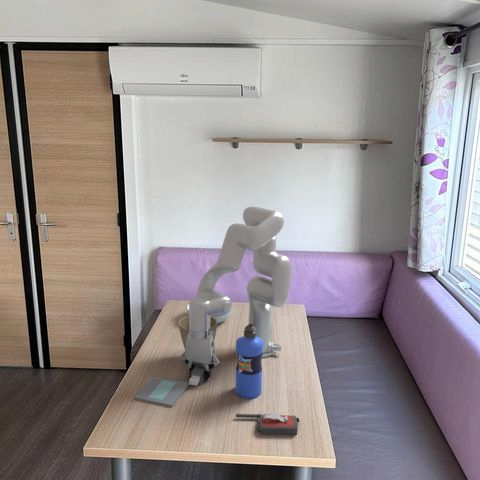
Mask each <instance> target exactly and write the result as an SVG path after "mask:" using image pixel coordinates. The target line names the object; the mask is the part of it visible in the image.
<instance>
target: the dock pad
mask: <svg viewBox="0 0 480 480" xmlns="http://www.w3.org/2000/svg"><path fill="white" fill-rule="evenodd" d="M189 386H190V384H189V382H186V381H181V380H176V379H171V378H166V377H161V376H156V375H154V376H152V377H151V378H150V380H149V381H148V382H147V383H146V384H145V385H144V386H143V387H142V388H141V389H140V390H139V391H138V392H137V393H136V394H135V396H134V397H133V399H134V400H137V401H142V402H145V403H146V402H147V403H151V404H155V405H159V406H166V407H169V408H173V407H174V406H175V405H176V403H177V402H178V401H179V399H180V398H181V397H182V395H183V394H184V393H185V392H186V390H187V389H188V387H189Z"/></svg>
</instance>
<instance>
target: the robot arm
mask: <svg viewBox="0 0 480 480" xmlns="http://www.w3.org/2000/svg"><path fill="white" fill-rule="evenodd" d="M242 220H243V222H244V223H245V224H243V223H232V224H231V225H229V226H228V228H227V230H226V233H225V236H224V239H223V243H222V245H221V249H220V252H219V255H218V257H217V261H216V262H215V264H213V265H212V266H211V267H210V268H209V269H208V270H207V271H206V272H204V274H203V276H202V277H201V280H200V281H199V285H198V288H197V291H196V296H195V297H192V298H191V299H190V300H189V303H188V304H189V314H188V316H189V334H188V336H187V341H186V349H185V348H184V352H183V353H182V354H180V359H182V360H183V361H184V363H185V364H186V365H187V367H188V374H189V379H190V378H191V371H192V370H193V369H194V367H195V366H196V364H195V363H194V362H199V363H204V364H205V367H206V370H205V381H204V382H207V381H208V380H209V379H210V378H211V377H212V369H213V368H215V367H216V366H218V365H219V364H220V360H219V359H218V357H217V356H216V347H215V339H213V335H212V334H214V331H212V330H211V327H210V322H211V317H217V316H223V315H226V314H227V313H229V311H230V310H231V308H232V309H233V302H232V300H231V299H230V297H229V296H227V295H225V294H222V293H220V292H218V291H215V290H214V289H215V287H216V286H215V285H217V282H218V280H219V279H221V277H223V276H225V275H227V274H230V273H234V272H237V271H239V270H240V268H241V266H242V262H243V258H244V256H245V251H246V250H248V251H251V252H252V251H253V257H252V268H253V271H255V272H256V273H258V274H259V275H256V276H253V277H251V278H250V279H249V281H248V283H247V285H246V293H247V298H248V324H252V325H253V326H254V327H255V328H256V337H259V338H261V339H262V340H263V342H264V344H263V353H262V358H268V357H271V356H273V355H274V354H275V352H276V351H277V352H282V346H281V343H275V341H274V339H273V337H272V336H273V314H274V313H273V312H274V311H273V307H274V308H282V307H284V306H285V305H286V304H287V302H288V300H289V296H290V289H291V282H292V281H291V279H292V268H293V267H292V263H291V260H290V259H289V258H288V257H287V256H286V255H284V254H281V253H277V235H278V234H279V233H280V232H281V231H282V228H283V227H284V223H285V221H284V220H285V219H284V215H282V213H281V212H279V211H277V210H274V209H273V210H272V209H268V208H264V207H258V206H248V207H246V208H244V210H243V212H242ZM261 275H263V276H261ZM265 276H266V277H265ZM231 311H232V310H231ZM212 361H213V362H212Z"/></svg>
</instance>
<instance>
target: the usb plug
mask: <svg viewBox="0 0 480 480" xmlns="http://www.w3.org/2000/svg"><path fill="white" fill-rule="evenodd" d="M205 370H206V367H205V364H204V363H199V364H195V367H194V369H193V370H192V371H191V378H190V377H189V381H188V383H189V385H190V386H191V385H192V386H198V385H201V386H202V385H203V383H204V382H206V381H205Z"/></svg>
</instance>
